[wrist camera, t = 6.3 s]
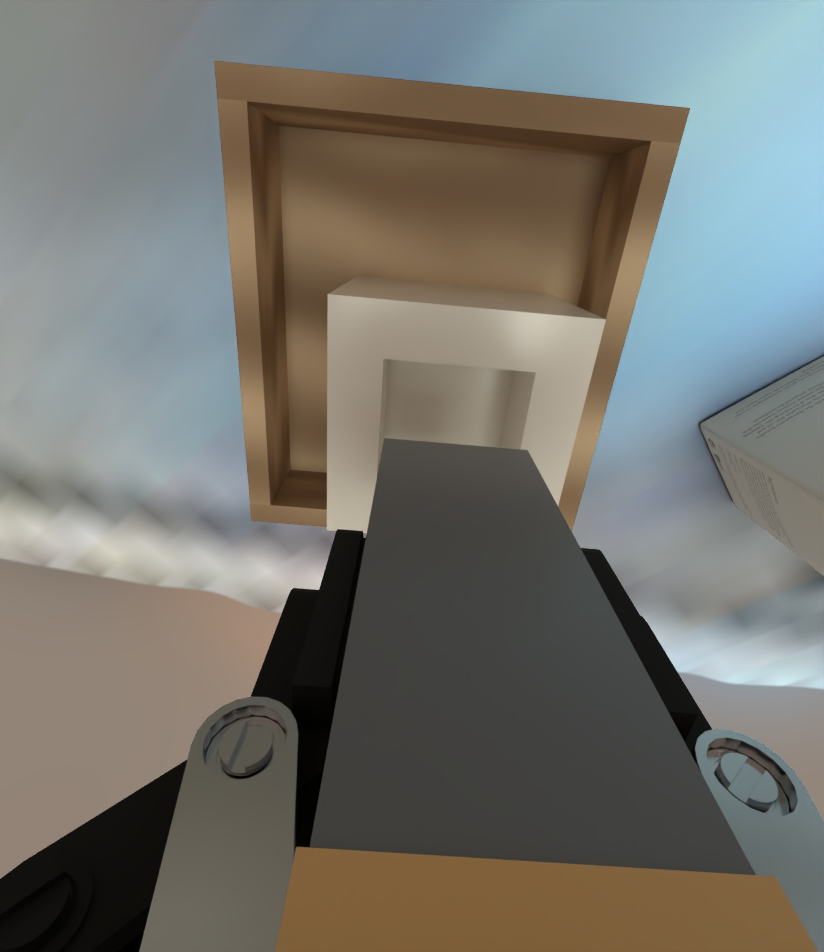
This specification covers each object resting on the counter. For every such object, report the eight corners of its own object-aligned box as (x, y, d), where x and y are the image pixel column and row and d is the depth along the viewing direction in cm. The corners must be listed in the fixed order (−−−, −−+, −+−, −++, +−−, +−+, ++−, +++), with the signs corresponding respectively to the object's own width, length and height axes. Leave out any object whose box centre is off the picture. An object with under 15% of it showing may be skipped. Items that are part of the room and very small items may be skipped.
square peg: (380, 434, 13) (198, 1319, 2) (532, 447, 13) (1046, 1354, 2) (373, 560, 15) (252, 1385, 4) (506, 570, 15) (731, 1401, 4)
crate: (257, 97, 20) (214, 61, 16) (635, 134, 20) (690, 107, 16) (276, 479, 28) (251, 520, 24) (546, 501, 28) (567, 546, 24)
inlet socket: (358, 275, 22) (327, 294, 15) (548, 293, 23) (606, 319, 15) (353, 450, 26) (326, 530, 19) (514, 464, 27) (547, 548, 19)
